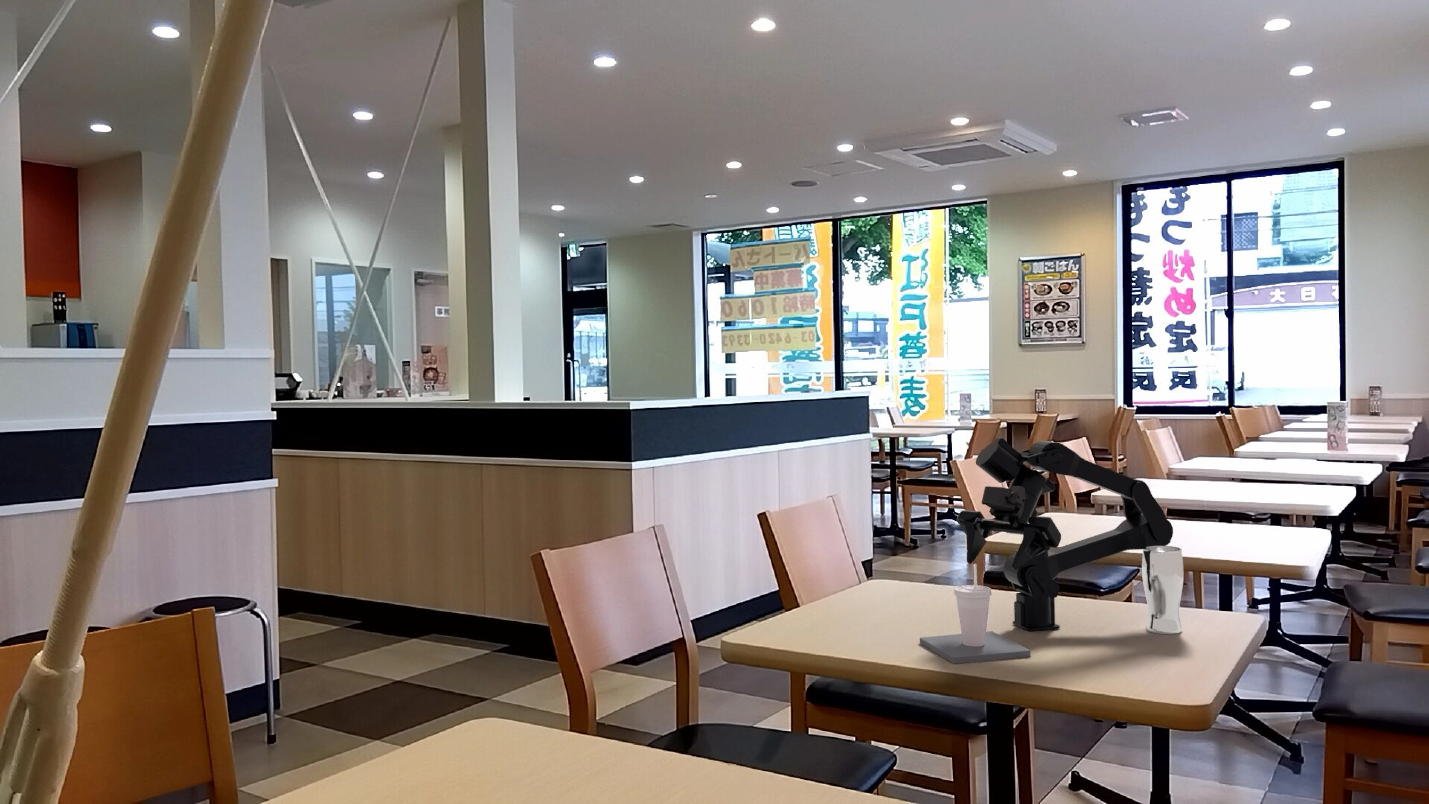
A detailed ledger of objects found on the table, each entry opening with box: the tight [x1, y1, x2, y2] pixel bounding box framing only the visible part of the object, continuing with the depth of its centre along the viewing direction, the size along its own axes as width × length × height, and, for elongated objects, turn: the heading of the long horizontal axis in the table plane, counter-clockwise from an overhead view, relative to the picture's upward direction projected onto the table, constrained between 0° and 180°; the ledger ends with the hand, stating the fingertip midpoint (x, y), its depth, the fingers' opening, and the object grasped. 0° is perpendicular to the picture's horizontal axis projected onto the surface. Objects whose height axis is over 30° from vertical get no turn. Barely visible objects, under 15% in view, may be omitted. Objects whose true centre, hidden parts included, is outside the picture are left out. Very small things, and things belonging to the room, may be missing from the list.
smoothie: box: [953, 563, 992, 647], centre depth 182 cm, size 6×6×14 cm
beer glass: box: [1141, 545, 1185, 635], centre depth 191 cm, size 7×7×15 cm
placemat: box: [919, 630, 1031, 665], centre depth 183 cm, size 14×14×1 cm
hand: (990, 565), depth 188 cm, fingers open, 9 cm apart
